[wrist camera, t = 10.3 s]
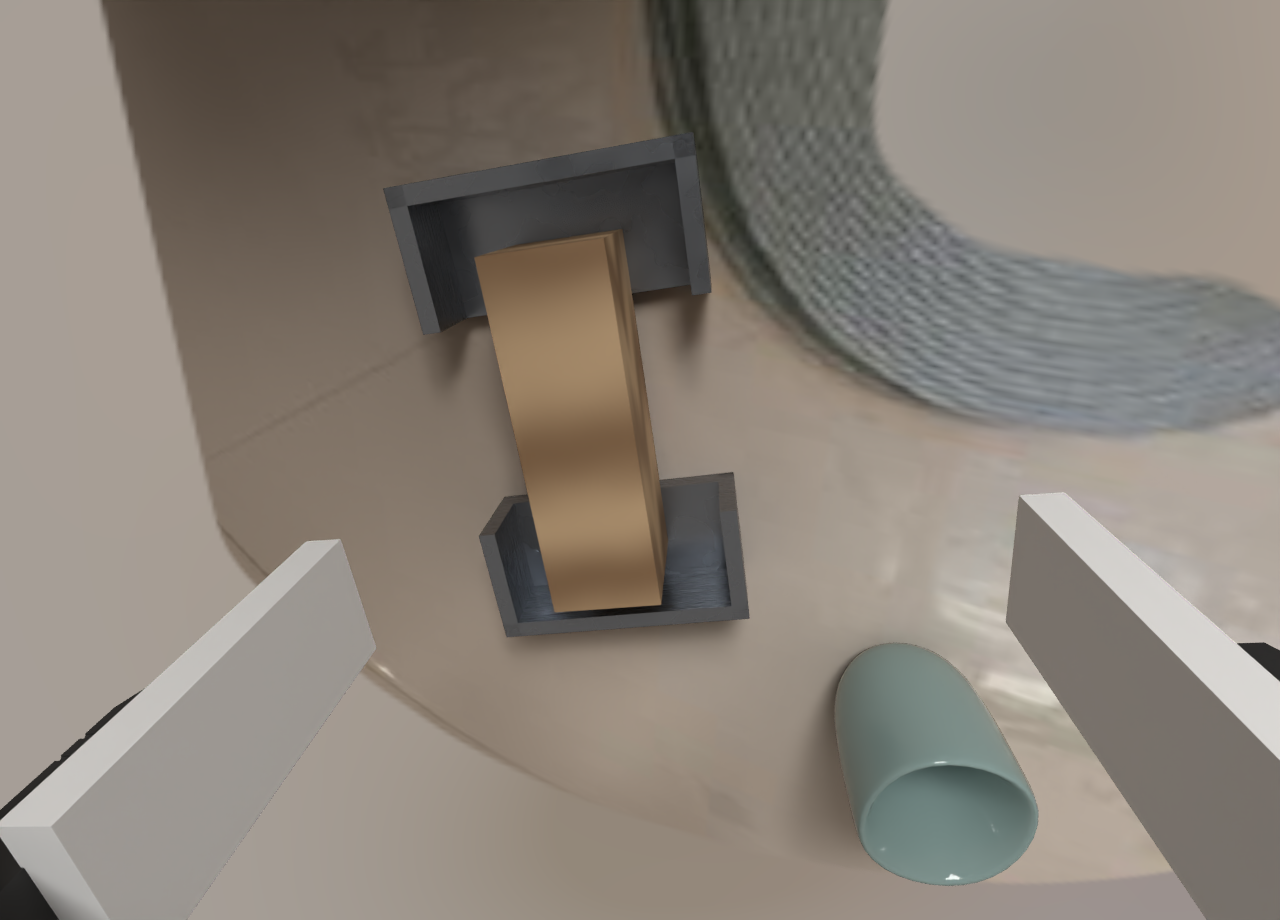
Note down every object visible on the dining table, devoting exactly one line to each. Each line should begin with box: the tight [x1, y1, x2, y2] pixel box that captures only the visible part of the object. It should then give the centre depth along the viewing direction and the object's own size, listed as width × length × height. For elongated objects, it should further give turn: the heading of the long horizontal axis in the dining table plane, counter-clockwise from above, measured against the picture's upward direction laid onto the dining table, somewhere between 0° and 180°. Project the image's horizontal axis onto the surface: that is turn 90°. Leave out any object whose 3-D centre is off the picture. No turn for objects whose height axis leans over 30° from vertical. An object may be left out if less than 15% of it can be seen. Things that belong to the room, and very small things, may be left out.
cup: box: [834, 643, 1038, 886], centre depth 35 cm, size 8×8×10 cm
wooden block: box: [474, 229, 668, 612], centre depth 31 cm, size 16×5×6 cm, turn 8°
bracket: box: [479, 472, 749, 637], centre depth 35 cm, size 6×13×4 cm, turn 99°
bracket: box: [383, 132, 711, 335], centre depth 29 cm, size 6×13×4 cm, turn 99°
